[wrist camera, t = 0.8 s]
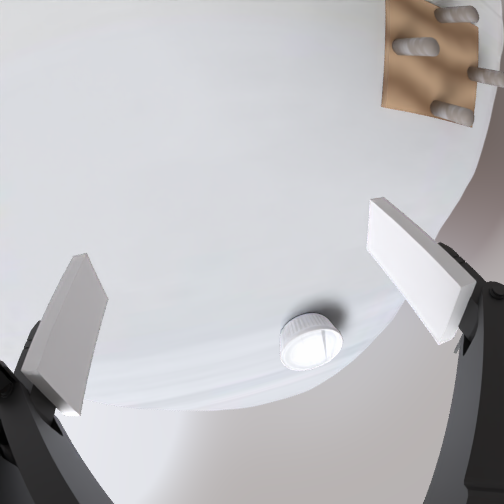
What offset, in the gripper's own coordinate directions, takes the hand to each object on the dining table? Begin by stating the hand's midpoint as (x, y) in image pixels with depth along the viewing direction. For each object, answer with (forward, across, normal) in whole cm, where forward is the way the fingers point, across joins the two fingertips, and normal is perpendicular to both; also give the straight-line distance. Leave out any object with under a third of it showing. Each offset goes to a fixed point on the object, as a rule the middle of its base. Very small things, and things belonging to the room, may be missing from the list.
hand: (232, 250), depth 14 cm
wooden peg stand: (+26, +33, +9) cm, 43 cm away
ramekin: (+26, +10, -36) cm, 45 cm away
